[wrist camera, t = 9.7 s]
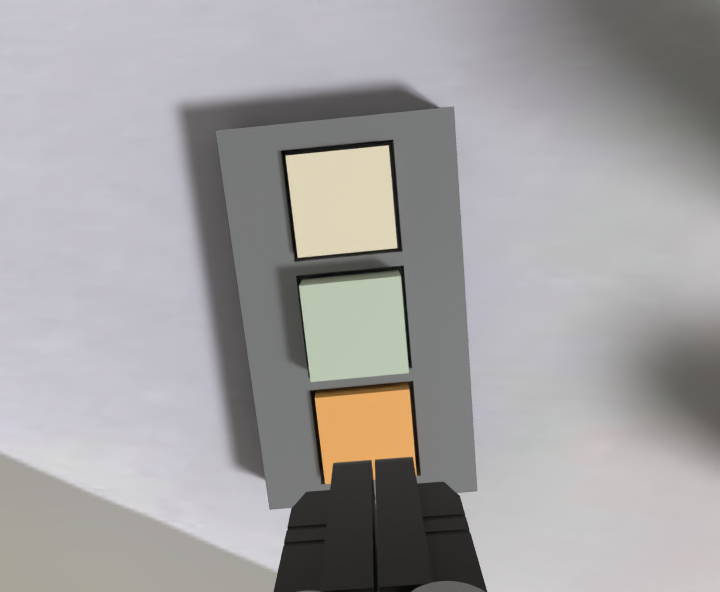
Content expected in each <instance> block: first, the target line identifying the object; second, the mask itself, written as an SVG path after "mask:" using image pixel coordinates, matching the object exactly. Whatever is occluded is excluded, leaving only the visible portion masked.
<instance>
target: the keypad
mask: <svg viewBox="0 0 720 592" xmlns="http://www.w3.org/2000/svg"><path fill="white" fill-rule="evenodd" d="M216 138H217V145H218V152H219V159H220V166H221V173H222V180H223V187H224V194H225V201H226V208H227V215H228V222H229V229H230V236H231V243H232V250H233V257H234V264H235V271H236V278H237V285H238V292H239V299H240V306H241V313H242V320H243V327H244V334H245V341H246V348H247V355H248V362H249V369H250V376H251V383H252V390H253V397H254V404H255V411H256V418H257V425H258V432H259V439H260V446H261V453H262V460H263V467H264V474H265V481H266V488H267V495H268V502H269V509H270V510H271V509H282V508H292V507H293V506H294V505H295V504H296V503H297V502H298V501H299V499H300V498H301V497H302V496H303V495H304V494H305V493H306V492H309V491H323V490H330V486H331V484H325V479H324V470H323V462H322V454H321V445H320V437H319V429H318V420H317V412H316V404H315V395H316V390H321V389H332V388H342V387H353V386H364V385H375V384H386V383H396V382H407V381H408V385H409V390H410V402H411V414H412V425H413V437H414V449H415V461H416V473H417V476H416V479H417V483H430V482H443V481H444V482H445V483H446V484H447V485H448V486H449V487H450V488H452V489H453V490H454V491H455V492H456V493H461V492H473V491H477V479H476V463H475V446H474V430H473V413H472V397H471V380H470V364H469V347H468V331H467V314H466V298H465V281H464V265H463V249H462V232H461V216H460V199H459V183H458V166H457V150H456V133H455V117H454V107H445V108H435V109H425V110H415V111H405V112H395V113H385V114H375V115H365V116H355V117H345V118H335V119H325V120H315V121H305V122H295V123H285V124H275V125H265V126H255V127H245V128H236V129H226V130H216ZM387 145H389V154H390V166H391V178H392V190H393V202H394V214H395V226H396V238H397V248H394V249H384V250H373V251H363V252H353V253H342V254H332V255H321V256H311V257H301V258H298V256H297V247H296V239H295V231H294V222H293V214H292V206H291V197H290V189H289V181H288V172H287V164H286V156H287V155H297V154H307V153H317V152H327V151H337V150H347V149H357V148H367V147H377V146H387ZM392 270H399V273H400V275H401V284H402V295H403V307H404V319H405V331H406V343H407V355H408V367H409V373H404V374H393V375H383V376H372V377H361V378H350V379H339V380H329V381H318V382H311V381H310V373H309V364H308V356H307V348H306V340H305V331H304V323H303V315H302V306H301V298H300V290H299V285H300V283H301V281H302V279H309V278H319V277H329V276H340V275H350V274H361V273H371V272H382V271H392ZM374 490H375V500H376V485H375V480H374Z"/></svg>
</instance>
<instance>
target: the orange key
mask: <svg viewBox="0 0 720 592" xmlns="http://www.w3.org/2000/svg"><path fill="white" fill-rule="evenodd" d="M315 404H316V412H317V420H318V429H319V437H320V445H321V454H322V462H323V470H324V479H325V484H331V477H332V468H333V463H337V462H350V461H363V460H372V468H373V479H374V480H375V459H388V458H402V457H413V461H414V467H415V473H416V461H415V449H414V437H413V425H412V414H411V402H410V390H409V385H408V381H407V382H396V383H386V384H375V385H364V386H353V387H342V388H332V389H321V390H316V395H315ZM416 476H417V473H416Z"/></svg>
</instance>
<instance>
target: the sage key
mask: <svg viewBox="0 0 720 592" xmlns="http://www.w3.org/2000/svg"><path fill="white" fill-rule="evenodd" d="M299 290H300V298H301V306H302V315H303V323H304V331H305V340H306V348H307V356H308V364H309V373H310V381H311V382H318V381H329V380H339V379H350V378H361V377H372V376H383V375H393V374H404V373H409V367H408V355H407V343H406V331H405V319H404V307H403V295H402V284H401V275H400V273H399V270H392V271H382V272H371V273H361V274H350V275H340V276H329V277H319V278H309V279H302V281H301V283H300V285H299Z"/></svg>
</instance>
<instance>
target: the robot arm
mask: <svg viewBox="0 0 720 592" xmlns="http://www.w3.org/2000/svg"><path fill="white" fill-rule="evenodd" d="M375 485H376V502H375V490H374V479H373V468H372V460H363V461H350V462H337V463H333V468H332V477H331V486H330V490H323V491H309V492H306V493H305V494H304V495H303V496H302V497H301V498H300V499H299V501H298V502H297V503H296V504H295V505H294V506H293V507H292V509H291V514H290V518H289V523H288V530H287V532H286V537H285V541H284V546H283V551H282V555H281V560H280V565H279V569H278V574H277V579H276V583H275V588H274V592H487V590H486V586H485V583H484V579H483V576H482V572H481V569H480V565H479V562H478V558H477V555H476V551H475V548H474V544H473V541H472V537H471V534H470V532H469V527H468V523H467V520H466V518H465V513H464V509H463V506H462V502H461V499H460V496H459V495H458V494H457V493H456V492H455V491H454V490H453V489H452V488H450V487H449V486H448V485H447V484H446V483H445V482H444V481H443V482H430V483H417V479H416V473H415V467H414V461H413V457H402V458H388V459H375Z"/></svg>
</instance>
